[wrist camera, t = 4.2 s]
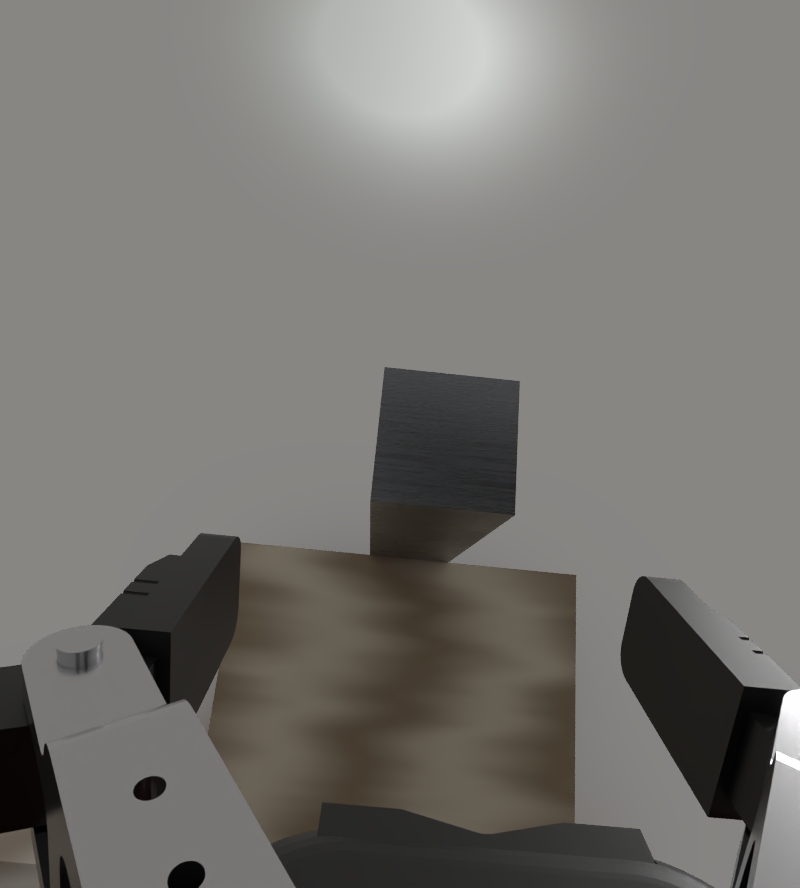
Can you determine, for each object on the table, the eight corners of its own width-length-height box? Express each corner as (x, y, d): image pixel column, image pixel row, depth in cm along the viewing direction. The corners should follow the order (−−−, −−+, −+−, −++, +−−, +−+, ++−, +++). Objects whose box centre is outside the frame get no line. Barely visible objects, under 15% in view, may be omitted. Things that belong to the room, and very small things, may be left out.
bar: (413, 587, 41) (416, 543, 42) (514, 514, 12) (519, 381, 13) (370, 583, 41) (374, 539, 42) (370, 500, 12) (384, 367, 13)
